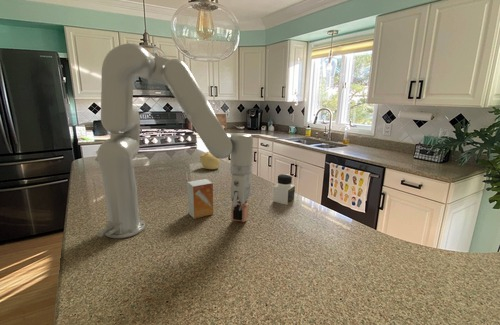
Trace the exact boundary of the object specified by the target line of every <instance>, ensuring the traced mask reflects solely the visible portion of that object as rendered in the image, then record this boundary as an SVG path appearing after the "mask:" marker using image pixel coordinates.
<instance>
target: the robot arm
mask: <svg viewBox="0 0 500 325" xmlns="http://www.w3.org/2000/svg"><path fill="white" fill-rule="evenodd" d="M101 66H102V67H101V93H100V94H101V95H100V104H101V105H100V122H101V125H102V127H103V128H104V129H105V131H107V132H108V133H109V134H110V138H108V139H106V140H104V141H103V142H102V143H101V144H100V145H99V147H98V149H97V153H96V155H97V156H96V158H97V159H96V160H97V162H98V163H97V164H98V165H99V170H100V173H101V177H102V184H103V190H104V198H105V205H106V212H107V221H106V222H105V226H104V228H101V229H100V230H98V231H97V232H96V235H97V237H99V238H102V237H103V236H105V237H108V238H111V239H125V238H129V237H132V236H135V235H138V234H139V233H141V232H142V231H143V230H144V229H145V227H146V222H145V220H144V219H141V217H140V210H139V208H140V207H139V200H138V199H139V198H138V188H137V187H138V186H137V179H136V178H137V177H136V172H135V169H134V164H133V159H135V158H136V157H137V155H138V153H139V151H140V138H141V137H140V134H141V116H140V113H139V111H138V109H137V108H136V106H134V105H133V104H134V103H133V99H134V98H133V96H134V88H133V87H134V86H133V81H134V77H139V78H142V79H145V80H148V81H152V82H155V83H159V84H160V85H165V86H167V88H168V89H169V91H170V93H171V94H172V96H173V97H174V98H175V100H176V101H177V103H178V104H179V106H180V108H181V109H182V111H183V113H184V114H185V116H186V118H187V119H188V121H189V122H190V123H191V125H192V126H193V128H194V129H195V131H196V133H197V135H198V136H199V138H200V140H201V141H202V143H203V144H204V146H205V147H206V149H207V151H208V152H210V153H211V154H212V155H213V156H214V157H215V158H218V159H220V160H223V159H226V158H228V157H229V156H230V174H232V175H231V183H230V184H231V186H230V200H231V202H232V203H231V207H232V206H233V219H234V220H233V221H237V220H240V221H239V222H242V221H241V220H242V210H241V208H242V203H248V199H249V198H250V197H251V194H252V172H253V152H254V150H253V149H254V147H253V146H254V138H253V136H252V134H250V133H245V132H244V133H243V132H237V133H232V132H231V133H229V132H226V131H225V129H224V127H223V126H222V124H221V122H220V121H219V119H218V118H217V115H216V114H215V112H214V110H213V107H212V105H211V102H210V101H209V100H208V98H207V96H206V94H205V93H204V91H203V90H202V88H201V86H200V84H199V83H198V82H197V80H196V79H195V76H194V75H193V73H192V72H191V70H190V69H189V67H188V65H187V64H186V63H185V62H184V61H183V60H181V59H179V58H178V59H177V58H172V59H168V58H166V57H163V56H160V55H157V54H154V53H152V52H150V51H148V50H147V49H146V48H144V47H143V46H141V45H139V44H135V43H131V42H129V43H128V42H127V43H122V44H119V45H118V46H116V47H114V48H112V49H111V50H109V52H107V54H106V56H105V57H104V59H103V61H102V65H101ZM237 203H240V205H237Z"/></svg>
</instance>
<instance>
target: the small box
mask: <svg viewBox="0 0 500 325" xmlns="http://www.w3.org/2000/svg"><path fill="white" fill-rule="evenodd" d="M186 186H187V205H188V206H187V207H188V208H187V209H188V211H187V212H188V214H189V215H190V216H191V217H192V218H193V219H194V220H196V219H199V218H202V217H208V216H211V215H214V183H213V182H212V181H210V180H209V179H207V178H204V179H196V180H191V181H187V183H186Z"/></svg>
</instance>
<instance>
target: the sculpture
mask: <svg viewBox="0 0 500 325" xmlns="http://www.w3.org/2000/svg"><path fill="white" fill-rule="evenodd" d="M199 161H200V162H199V163H201V166H202V168H204V169H206V170H216V169H218V168H219V167H220V164H221V159H218V158H215V157H214V156H213V155H212V154H211V153H210V152H209V151H206V152H205V153H203V154H201V155H200V156H199Z"/></svg>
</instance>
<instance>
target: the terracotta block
mask: <svg viewBox="0 0 500 325" xmlns="http://www.w3.org/2000/svg"><path fill="white" fill-rule="evenodd" d="M249 204H250V203H248V202H247V203H242V208H241V210H242V220H241V221H240V220H236V221H238V222H243V223H244V222H246V220H247V218H248V217H249V211H250V210H249V208H250V206H249ZM237 205H240V203H237ZM230 215H231V218H230V219H231V220H232V221H235V220H234V219H233V206H232V205H231V214H230Z"/></svg>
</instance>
